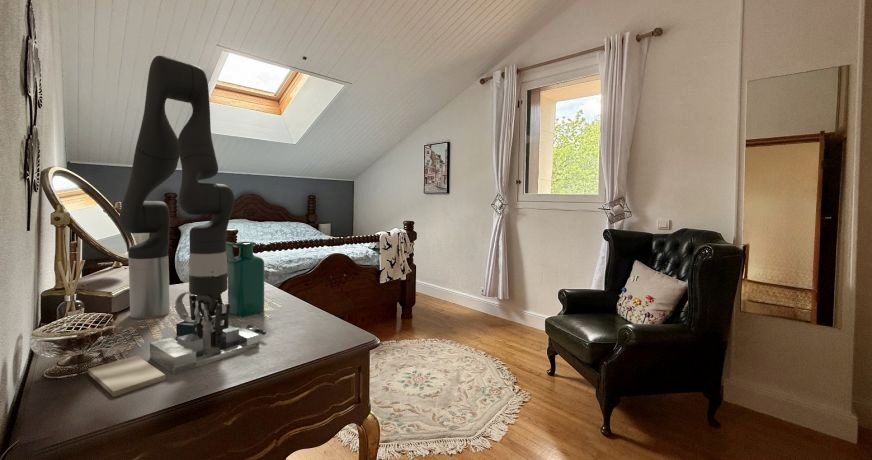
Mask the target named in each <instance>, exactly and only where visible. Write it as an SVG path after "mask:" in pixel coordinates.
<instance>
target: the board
mask: <svg viewBox="0 0 872 460" xmlns="http://www.w3.org/2000/svg"><path fill="white" fill-rule="evenodd" d="M87 372H88V373H87V374H88V375H89V376H90V377H91V378H92V379H93V380H94V381H96V382H97V384H99V385H100V386H101V387H102V388H103V389H104V390H105V391H107V392H108V393H109V394H110V395H111V396H112V397H113V398H114V397H117V396H120V395H124V394H126V393H130V392H132V391H136V390H138V389H140V388H144V387H148V386H149V385H153V384H156V383H160V382H163V381H165V380H166V374H165V373H163V372H162V371H160V370H159V369H158V368H157V367H154V366H153V365H151V364H150V363H149V362H147V361H146V360H144V359H143V358H141V357H140V356H139V355H134V356H131V357H127V358H123V359H120V360H115V361H112V362H108V363H104V364H101V365H98V366H93V367H91V368H88V369H87Z"/></svg>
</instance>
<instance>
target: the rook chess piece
mask: <svg viewBox="0 0 872 460" xmlns="http://www.w3.org/2000/svg"><path fill="white" fill-rule="evenodd" d="M211 317H212V318H213V316H211ZM201 324H202V325H203V329H202V330H203V338H202V339H203V355H207V354H210V353H213V352H216V351H220V350H221V348H220V347H216V348H213V347H211V329H210V325H209V323H207V322H206V319H205V318H203V321H202V322H201ZM214 325H215V321H214Z"/></svg>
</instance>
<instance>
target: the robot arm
mask: <svg viewBox="0 0 872 460" xmlns="http://www.w3.org/2000/svg"><path fill="white" fill-rule="evenodd" d="M147 76H148V77H147V83H146V92H145V101H144V109H143V116H142V120H141V124H140V130H139V134H138V136H137V141H136V146H135V149H134V153H133V154H134V155H133V161H132V168H131V173H130V178H129V182H128V185H127V188H126V192H125V194H124V196H123V200H122V203H121V207H120V211H119V216H118V218H119V219H118V222H119V226H120V229H121V230H122V231H123V232H125V233H126V234H151V235H150V237H148V239H145V240H144V241H143V242H140V243H137V244H134V245H132V246H130V247H129V248H128V251H127V254H128V255H127V257H128V260H127V261H128V277H129V278H128V285H129V286H128V287H129V289H128V290H129V316H130V318H132V319H135V320H136V319H137V320H145V319H153V318H159V317H162V316H165V315H168V314H169V313H170V309H171V308H170V307H171V306H170V304H171V303H170V271H169V270H170V267H169V266H170V265H169V248H170V226H171V225H170V224H171V223H170V222H171V215H170V210H169V209H170V208H169V206H168V204H167V203H166V202H164V201H161V200H146V199H147V197H148V196H149V195H150V194H151V193H152V192H153V191H154V190H155V189H156V188H158V187H159V186H161V185H162V184H163V183H164V182H166V181H167V180H168V179H169V178H170V177H172V175H174V173H175V171H176V170H177V167H178V163H179V161H180V165H181V184H180V189H179V195H178V204H179V206H180V208H181V210H182V211H183V212H185V213H186V214H187V215H192V216H200V215H201V216H202V215H203V216H204V215H205V216H209V215H210V216H211V215H212V218H211V220H209V221H208V222H207V223H205V224H200V225H196V226H193V227H192V228H191V229H190V230H189V238H188V239H189V258H188V291H189V292H190V293H191V294H193V295H190V296H188V299H189V312H190V313H189V314H190V317H191V320H195V324H196V326H197V335H196V336H198V337H200V338H203V330H202V329H203V325H202V324H201V322H202V321H203V318H205V319H206V322H207V323H209V325H210V329H211V347H213V348H216V347H219V346H221V345H222V330H223V329H228V327H229V324H230V314H231V313H230V305H229V303H228V302H227V303H223V299H222V294H223V293H224V292H227V291H228V259H227V256H226V242H227V231H228V226H229V222H230V219H231V216H232V212H233V210H234V206H235V195H234V192H233V190H232V189H231V187H230V186H229V185H227V184H225V183H224V184H223V183H209V182H208V183H207V182H199V181H202V180H208V179H211V178H213V177H215V176H216V175H217V174H218V172H219V164H218V161H217V156H216V152H215V148H214V143H213V138H212V130H211V106H210V91H209V90H210V89H209V83H208V78H207V75H206V73H205V70H204V69H203V68H202V67H199V66H198V65H196V64H192V63H189V62H186V61H182V60H178V59H175V58H171V57H170V56H169V57H168V56H165V55H157V56H155V57H153V59H152V60H151V63H150V66H149V70H148V75H147ZM167 99H170V100H173V101H179V102H184V103H188V104H190V105H191V107H192V109H191V110H192V112H191V116H190V117H189V119H188V121H187V122H186V123H185V125H184V126H183V128H182V129H181V131H180V133H179V135H178V136H177V133H175V131H174V129H173V127H172V125H171V123H170V121H169V120H168V117H167V116H168V115H167V114H166V101H167ZM211 316H212V317H211ZM214 321H215V325H214Z"/></svg>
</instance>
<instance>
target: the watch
mask: <svg viewBox="0 0 872 460" xmlns="http://www.w3.org/2000/svg"><path fill="white" fill-rule="evenodd" d="M186 295H189V296H190V295H193V294H191V293H190V292H189V290H188V291H185V292H182V293H180V294H179V295H178V296H177V297H176V299H175V302H174V303H175V306H174V308H175V310H176V313H177V316H178V317H179V319H180V320H182V321H179V322H178V323H176V328H175V329H176V331H175V332H176V337H181V336H185V335H188V334H194V335H196V336H197V326H196V324H195V320H191V316H190V313H189V312H188V311H187V309H186V306H185V304H184V302H183V299H184V297H185V296H186ZM189 296H188V297H189Z"/></svg>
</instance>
